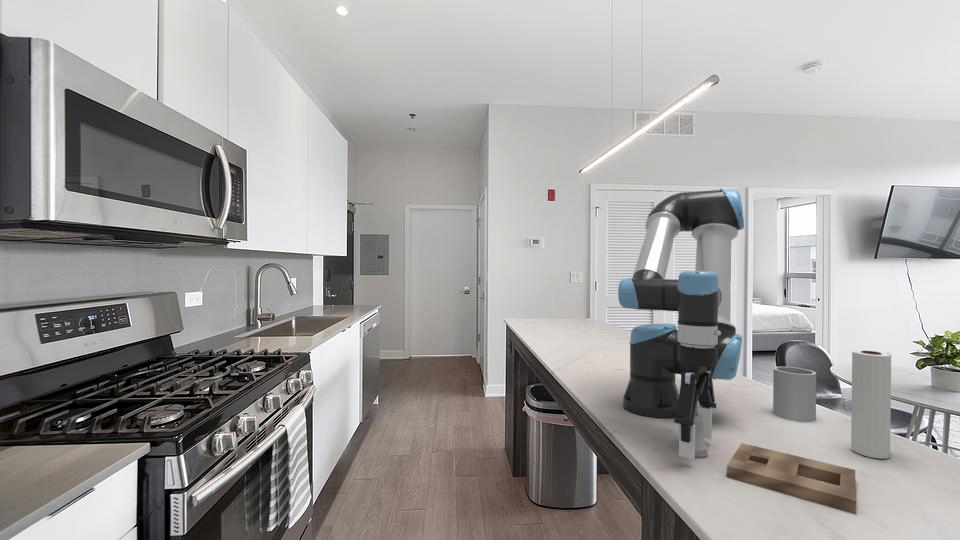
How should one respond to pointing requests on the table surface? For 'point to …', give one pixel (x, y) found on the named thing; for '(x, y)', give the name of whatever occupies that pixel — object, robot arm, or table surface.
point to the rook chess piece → (699, 437)
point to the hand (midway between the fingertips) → (696, 446)
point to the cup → (794, 394)
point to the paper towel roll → (871, 403)
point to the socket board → (795, 476)
